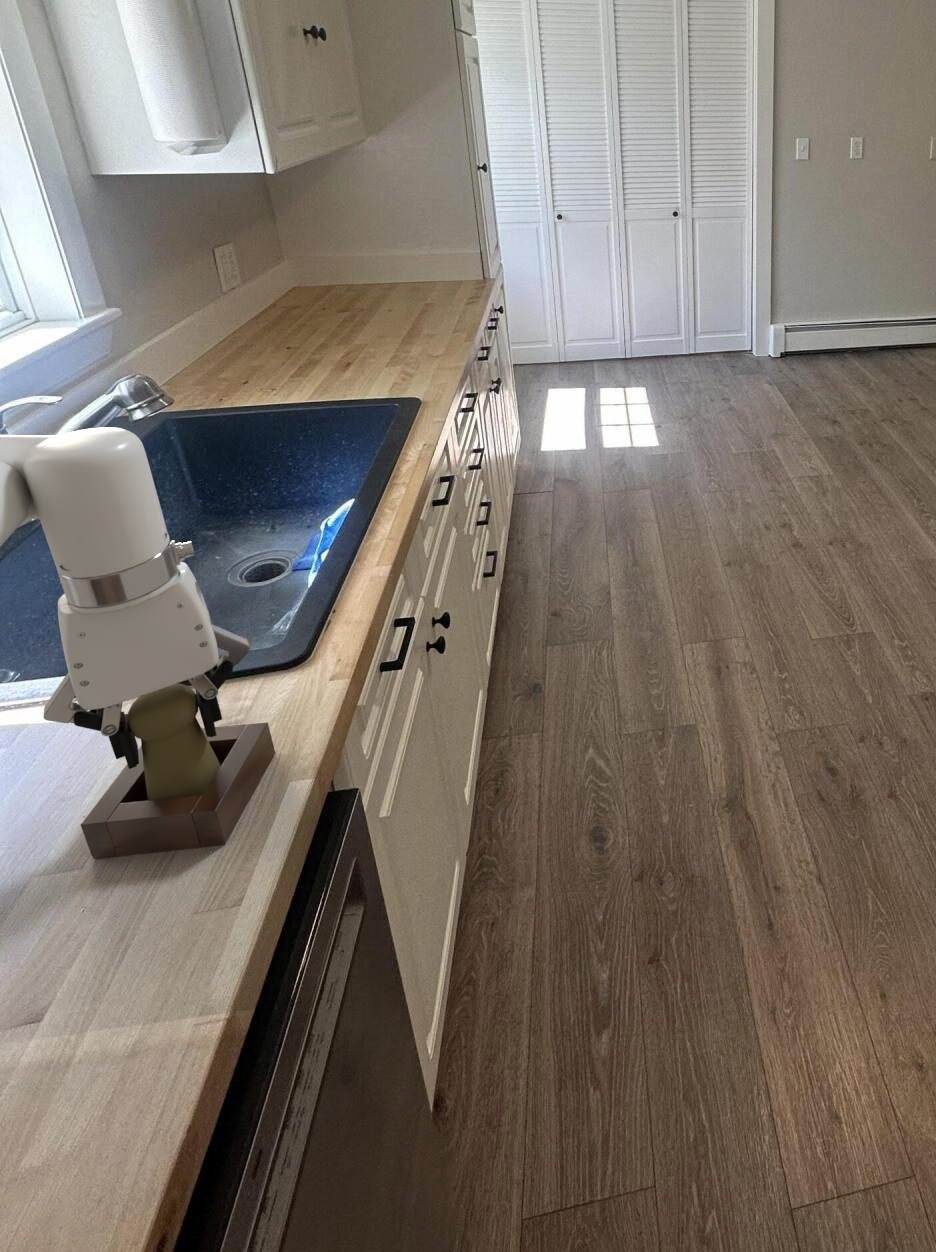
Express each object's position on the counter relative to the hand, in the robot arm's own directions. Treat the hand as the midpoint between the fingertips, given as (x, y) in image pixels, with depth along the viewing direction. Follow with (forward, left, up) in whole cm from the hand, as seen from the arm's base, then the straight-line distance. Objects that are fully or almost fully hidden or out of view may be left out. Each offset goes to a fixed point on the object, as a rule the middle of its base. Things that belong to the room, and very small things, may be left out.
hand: (172, 741), depth 72 cm
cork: (0, 0, -6) cm, 6 cm away
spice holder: (0, 0, -7) cm, 7 cm away
